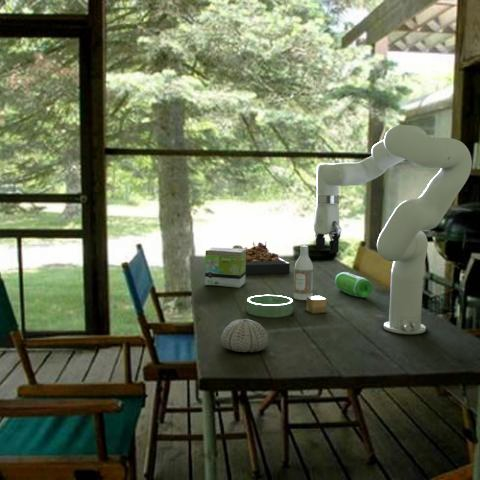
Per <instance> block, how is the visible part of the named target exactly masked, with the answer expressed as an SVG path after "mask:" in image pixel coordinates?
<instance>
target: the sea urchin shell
mask: <svg viewBox="0 0 480 480" xmlns="http://www.w3.org/2000/svg"><path fill="white" fill-rule="evenodd" d="M270 340H271V339H270V336H269V333H268V332H267V330H266V329H265V328H264V327H263V326H262V325H261V323H259V322H257V321H255V320H251V319H249V318H242V319H235V320H232V321H231V322H230V323H229V324H227V325H226V327H224V330H223V331H222V333H221V335H220V344H221V345H222V347H224V348H225V349H227V350H230V351H233V352H235V353H236V352H238V353H240V352H242V353H247V352H249V353H255V352H260V351H262V350H264V349H265V348H267V347H268V345H269V344H270Z"/></svg>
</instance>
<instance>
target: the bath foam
mask: <svg viewBox="0 0 480 480" xmlns="http://www.w3.org/2000/svg"><path fill="white" fill-rule="evenodd" d="M299 247H300V248H299V254H300V255H299V256H298V258H297V259H296V261H295V264H294V269H293V270H294V271H293V299H295V300H299V301H307V297H312V296H313V293H314V292H313V290H314V289H313V288H314V264H313V262H312V260H311V258H310V256H309V245H300V246H299Z"/></svg>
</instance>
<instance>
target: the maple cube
mask: <svg viewBox="0 0 480 480" xmlns="http://www.w3.org/2000/svg"><path fill="white" fill-rule="evenodd" d="M305 305H306V311H307V312H310V313H311V314H319V313H327V298H325V297H323V296H321V295H314V296H313V295H312V297H307V300H306V304H305Z"/></svg>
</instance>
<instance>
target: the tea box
mask: <svg viewBox="0 0 480 480" xmlns="http://www.w3.org/2000/svg"><path fill="white" fill-rule="evenodd" d="M204 261H205V262H204V263H205V264H204V265H205V266H204V285H205V286H219V287H229V288H237V289H239V288H241V287H242V286H243V285H245V283H246V274H245V270H246V249H232V248H231V247H213V246H212V247H211V248H208V249H206V250H205V259H204Z"/></svg>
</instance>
